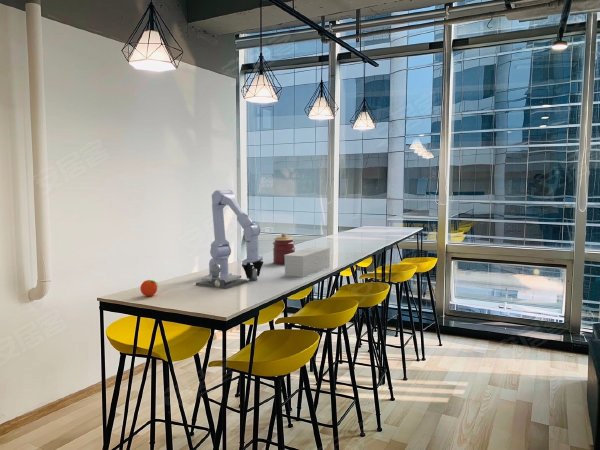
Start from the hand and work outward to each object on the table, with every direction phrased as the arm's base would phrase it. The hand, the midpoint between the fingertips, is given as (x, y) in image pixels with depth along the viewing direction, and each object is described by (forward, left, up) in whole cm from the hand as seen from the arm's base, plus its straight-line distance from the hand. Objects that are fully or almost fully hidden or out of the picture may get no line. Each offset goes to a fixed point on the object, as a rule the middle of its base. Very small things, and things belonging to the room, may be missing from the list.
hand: (253, 277), depth 232 cm
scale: (-9, -13, -1) cm, 16 cm away
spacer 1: (-12, -13, +2) cm, 18 cm away
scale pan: (-9, -13, 0) cm, 16 cm away
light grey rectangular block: (+13, +33, -2) cm, 35 cm away
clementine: (-21, -46, -2) cm, 51 cm away
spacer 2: (0, 0, -2) cm, 2 cm away
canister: (-12, +49, -2) cm, 50 cm away
